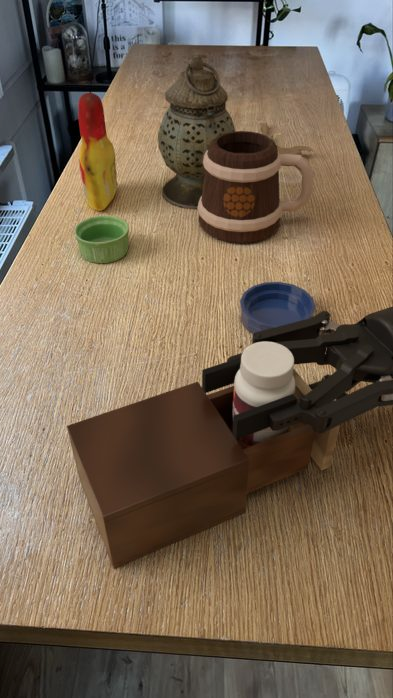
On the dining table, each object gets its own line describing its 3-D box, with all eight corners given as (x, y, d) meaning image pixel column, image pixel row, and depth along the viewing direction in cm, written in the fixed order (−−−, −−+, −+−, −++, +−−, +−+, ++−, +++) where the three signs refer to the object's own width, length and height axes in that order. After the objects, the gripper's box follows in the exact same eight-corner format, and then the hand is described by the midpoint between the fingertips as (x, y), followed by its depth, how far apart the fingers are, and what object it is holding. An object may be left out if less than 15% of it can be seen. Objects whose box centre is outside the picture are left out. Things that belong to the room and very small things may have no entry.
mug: (196, 245, 101) (195, 162, 91) (198, 203, 112) (198, 124, 102) (313, 246, 100) (325, 162, 90) (303, 204, 111) (313, 124, 101)
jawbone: (278, 169, 123) (278, 160, 122) (230, 136, 137) (230, 127, 136) (314, 157, 126) (314, 148, 124) (264, 126, 140) (263, 117, 138)
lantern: (235, 178, 120) (240, 44, 103) (231, 212, 109) (236, 69, 92) (166, 175, 121) (160, 42, 104) (156, 209, 110) (148, 67, 93)
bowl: (327, 328, 84) (329, 314, 82) (262, 349, 81) (263, 335, 79) (288, 288, 91) (289, 275, 89) (227, 307, 88) (227, 293, 86)
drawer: (315, 391, 74) (323, 348, 69) (366, 451, 66) (379, 407, 62) (180, 441, 68) (179, 397, 63) (221, 512, 61) (223, 469, 56)
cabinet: (198, 435, 70) (197, 381, 64) (245, 512, 62) (249, 459, 56) (79, 479, 65) (66, 425, 59) (113, 568, 57) (102, 517, 51)
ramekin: (142, 250, 100) (140, 227, 97) (101, 272, 95) (98, 249, 92) (107, 231, 104) (104, 209, 101) (67, 252, 99) (62, 229, 97)
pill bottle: (224, 419, 66) (227, 343, 58) (276, 408, 67) (285, 332, 60) (241, 461, 62) (247, 385, 54) (296, 449, 63) (309, 373, 55)
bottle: (111, 216, 108) (99, 106, 95) (78, 215, 109) (60, 105, 95) (123, 187, 117) (112, 82, 104) (91, 186, 118) (77, 81, 104)
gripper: (358, 265, 69) (178, 319, 62) (480, 366, 56) (270, 449, 49) (348, 315, 74) (180, 370, 67) (458, 419, 61) (264, 500, 54)
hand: (219, 403), depth 58 cm, fingers closed on pill bottle, 6 cm apart
